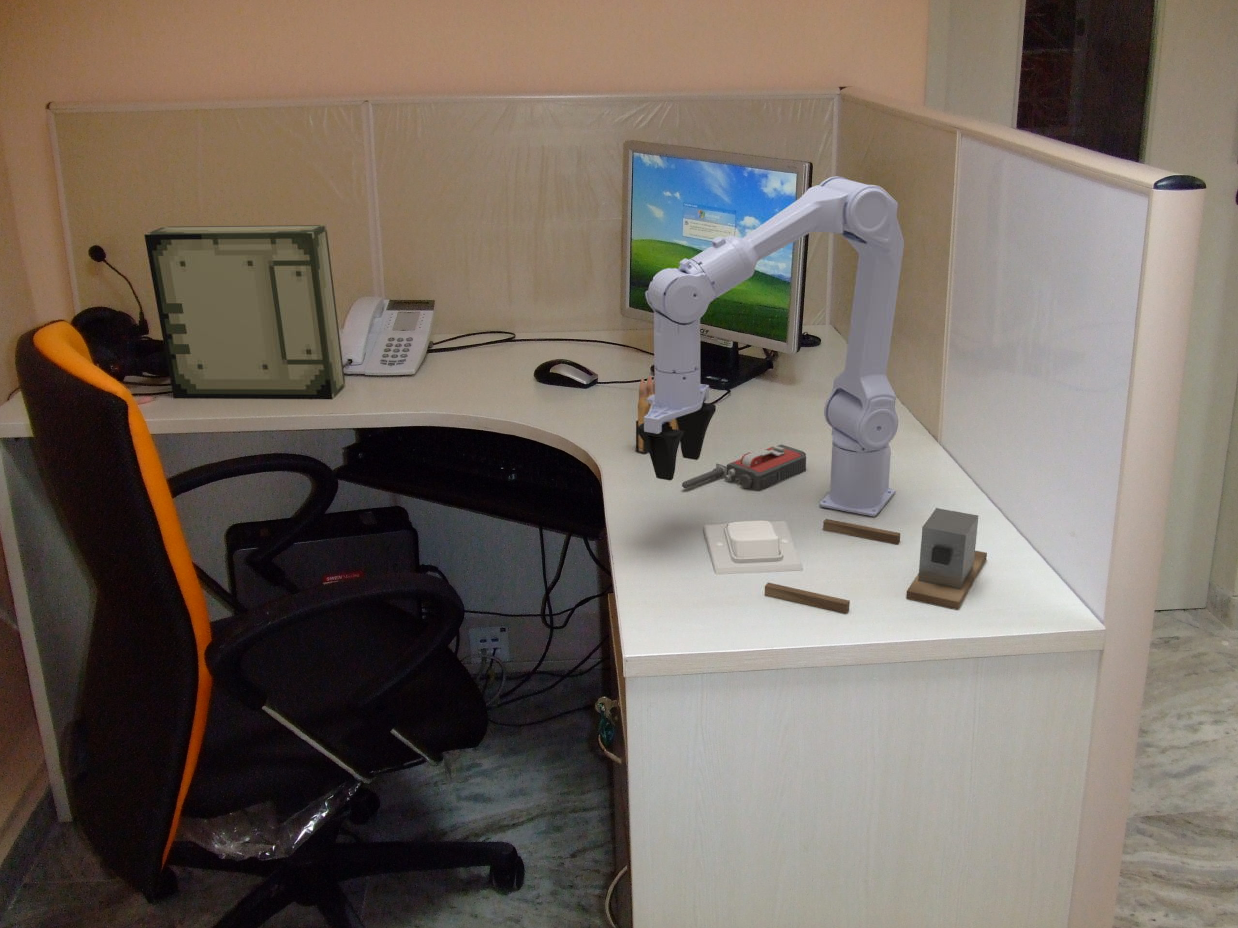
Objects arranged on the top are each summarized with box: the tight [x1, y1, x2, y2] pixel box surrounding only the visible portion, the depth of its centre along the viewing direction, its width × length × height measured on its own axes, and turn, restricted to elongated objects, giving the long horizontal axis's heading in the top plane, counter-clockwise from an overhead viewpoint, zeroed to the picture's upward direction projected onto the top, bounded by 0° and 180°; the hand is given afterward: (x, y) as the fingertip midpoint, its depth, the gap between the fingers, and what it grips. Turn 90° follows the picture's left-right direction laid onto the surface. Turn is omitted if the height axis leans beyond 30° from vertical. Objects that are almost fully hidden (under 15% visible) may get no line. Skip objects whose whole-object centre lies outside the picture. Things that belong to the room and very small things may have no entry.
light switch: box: [703, 519, 804, 575], centre depth 147 cm, size 11×4×13 cm
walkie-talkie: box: [681, 444, 807, 492], centre depth 168 cm, size 9×4×20 cm
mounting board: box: [905, 550, 988, 611], centre depth 138 cm, size 14×6×1 cm, turn 151°
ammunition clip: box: [635, 375, 679, 455], centre depth 181 cm, size 11×2×12 cm, turn 140°
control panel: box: [144, 224, 346, 400], centre depth 208 cm, size 30×8×30 cm, turn 85°
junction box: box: [918, 507, 979, 590], centre depth 136 cm, size 7×5×7 cm
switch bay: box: [764, 518, 901, 614], centre depth 142 cm, size 21×10×1 cm, turn 151°
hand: (678, 468), depth 148 cm, fingers open, 7 cm apart
